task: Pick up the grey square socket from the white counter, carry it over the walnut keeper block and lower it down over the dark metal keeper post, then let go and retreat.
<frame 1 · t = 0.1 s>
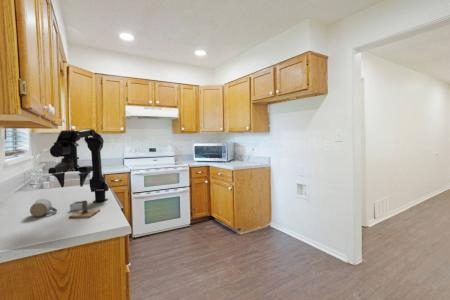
hand: (72, 186, 116), 15 cm above the countertop, fingers open, 9 cm apart
ceramic mug: (44, 215, 120), on the countertop
keeper: (85, 214, 118), on the countertop
grey square socket: (79, 208, 129), on the countertop
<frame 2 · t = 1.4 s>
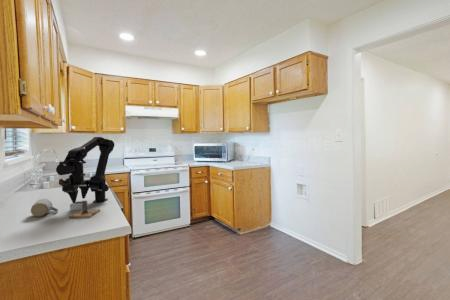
hand: (78, 200, 129), 5 cm above the countertop, fingers open, 9 cm apart
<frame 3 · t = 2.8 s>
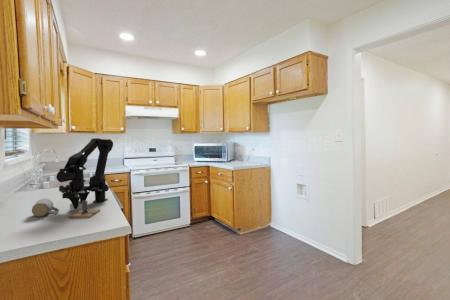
hand: (79, 207, 129), 1 cm above the countertop, fingers closed on grey square socket, 6 cm apart
grey square socket: (79, 208, 129), on the countertop, touching gripper
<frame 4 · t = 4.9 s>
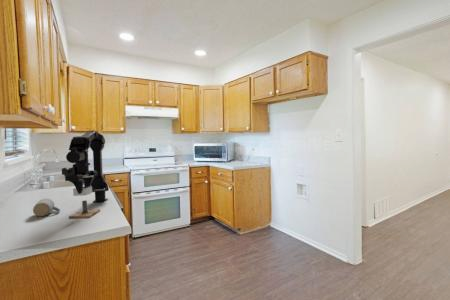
hand: (83, 192, 118), 11 cm above the countertop, fingers closed on grey square socket, 6 cm apart
grey square socket: (83, 194, 118), point 10 cm above the countertop, touching gripper
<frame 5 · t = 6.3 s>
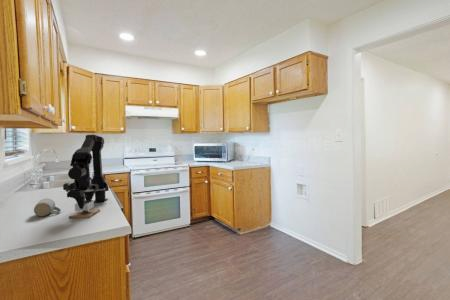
hand: (84, 207, 118), 4 cm above the countertop, fingers closed on grey square socket, 6 cm apart
grey square socket: (84, 208, 118), point 3 cm above the countertop, touching gripper
when the fingers open (3 cm above the countertop, at t = 7.3 s): grey square socket drops 1 cm, resting on keeper.
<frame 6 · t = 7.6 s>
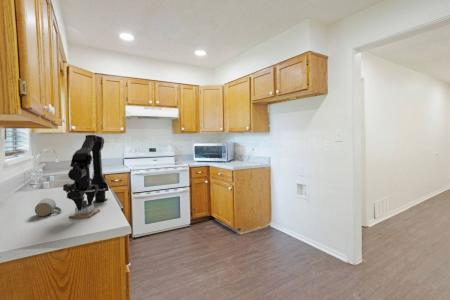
hand: (84, 207, 118), 3 cm above the countertop, fingers open, 9 cm apart
grey square socket: (84, 212, 118), point 1 cm above the countertop, touching keeper
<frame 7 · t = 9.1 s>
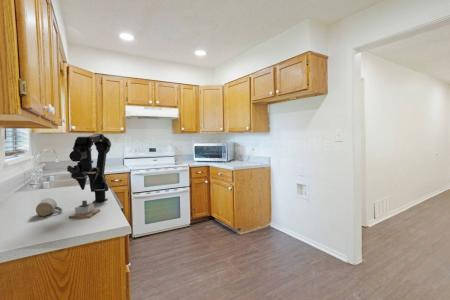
hand: (87, 187, 129), 12 cm above the countertop, fingers open, 9 cm apart
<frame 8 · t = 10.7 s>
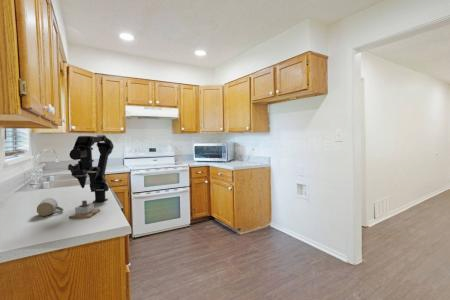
hand: (87, 186, 130), 12 cm above the countertop, fingers open, 9 cm apart
at the end: grey square socket 0.1 cm from the keeper (horizontally); grey square socket point 1.0 cm above the countertop; the gripper is holding nothing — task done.
